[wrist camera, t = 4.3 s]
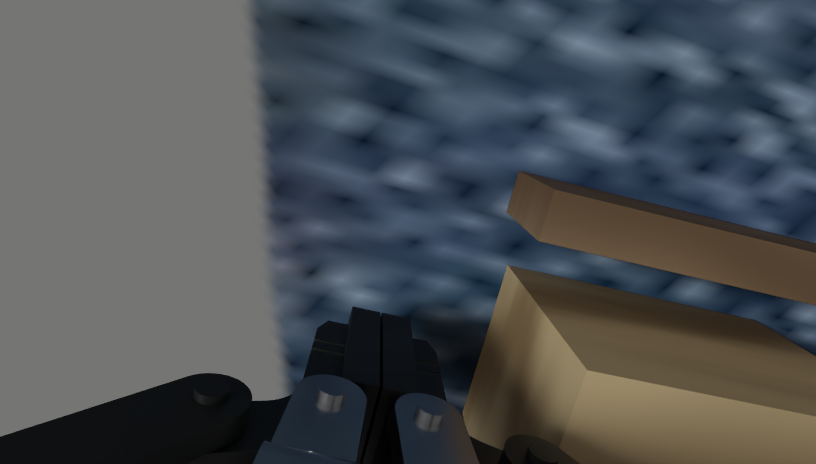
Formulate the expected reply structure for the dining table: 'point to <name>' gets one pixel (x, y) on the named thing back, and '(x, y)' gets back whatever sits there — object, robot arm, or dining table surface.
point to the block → (638, 379)
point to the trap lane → (664, 238)
